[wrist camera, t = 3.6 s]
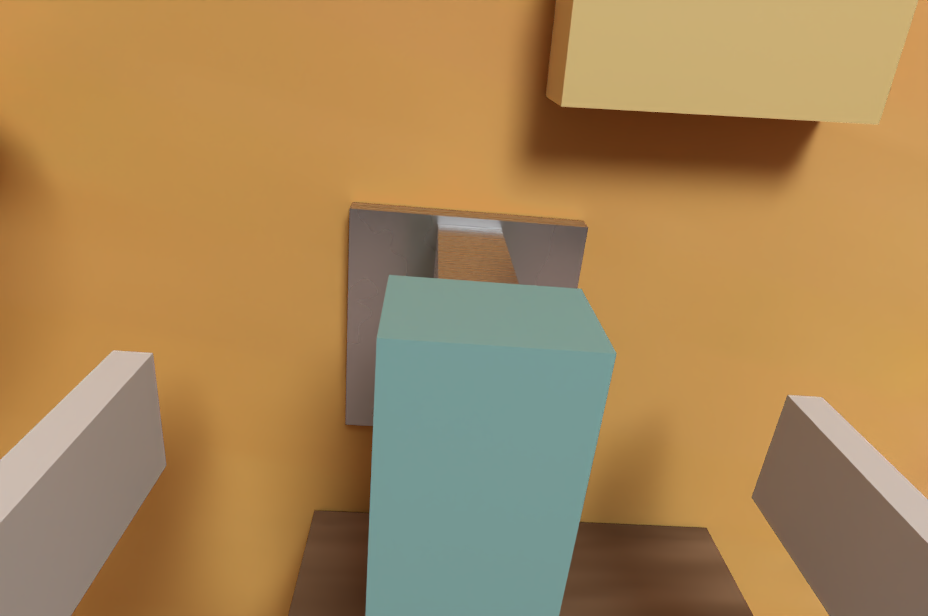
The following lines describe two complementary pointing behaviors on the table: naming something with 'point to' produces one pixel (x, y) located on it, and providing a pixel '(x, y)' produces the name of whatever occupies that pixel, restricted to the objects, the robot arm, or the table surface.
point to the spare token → (729, 56)
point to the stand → (442, 268)
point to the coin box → (588, 583)
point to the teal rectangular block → (481, 445)
